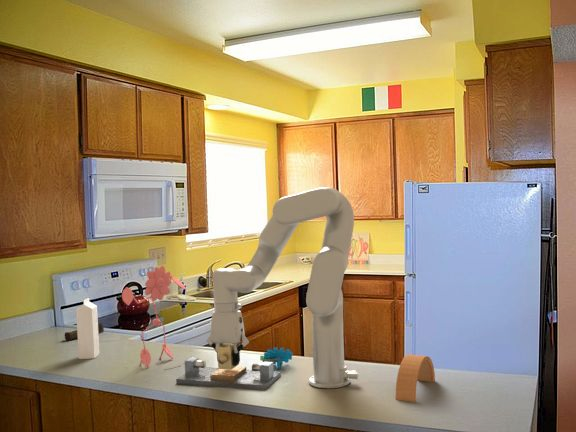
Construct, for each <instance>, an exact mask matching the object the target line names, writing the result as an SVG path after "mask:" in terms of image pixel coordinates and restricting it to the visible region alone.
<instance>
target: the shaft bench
mask: <svg viewBox="0 0 576 432" xmlns="http://www.w3.org/2000/svg"><path fill="white" fill-rule="evenodd" d="M199 359H200V358H199V357H191V356H190V357H189V358H187V359H186V360H184V374H182V375H180V376H179V377H177V378H176V382H175V383H176V385H187V386H188V385H189V386H200V385H201V387H217V388H228V389H229V388H231V389H243V390H245V389H246V390H258V391H259V390H260V391H266V390H267V389H268V388H269V387H270V386H272V385H273V384H274V383H275V382H276V381H277V380H278V379H279V378H281V376H282V375H281V371H276V370H275V371H274V364H273V362H263V361H262V363H252V366H251V369H247V366H239V365H237V366H236V367H234V368H233V369H232V370H228V369H218V367H212V366H211V367H210V366H207V362H206V360H199Z"/></svg>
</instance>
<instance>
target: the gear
mask: <svg viewBox="0 0 576 432" xmlns="http://www.w3.org/2000/svg"><path fill="white" fill-rule="evenodd" d="M272 348H273V349H267V350H266V351H267V352H266V351H264V352H263V355H260V359H259V360H260V361H261V362H262V363H263V362H273V365H276V370H281V365H283V364H284V363H288V362H289V360H292V358H293V356H294V355H293V354H294V353H293V352H292V351H291V350H290V349H288V348H287V349H285V348H284V347H282V346H281V347H279V348H280V349H278V347H276V346H275V347H272ZM283 362H284V363H283Z"/></svg>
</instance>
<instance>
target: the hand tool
mask: <svg viewBox="0 0 576 432" xmlns="http://www.w3.org/2000/svg"><path fill="white" fill-rule="evenodd" d="M104 328H105V327H104V325H103V323H101V322H98V335H99V334H101V333H103V332H104ZM75 339H78V335H77V329H76V330H74V331H73V330H72V331H67V332H66V331H65V332H64V340H65V341H67V342H70V341H73V340H75Z"/></svg>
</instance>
